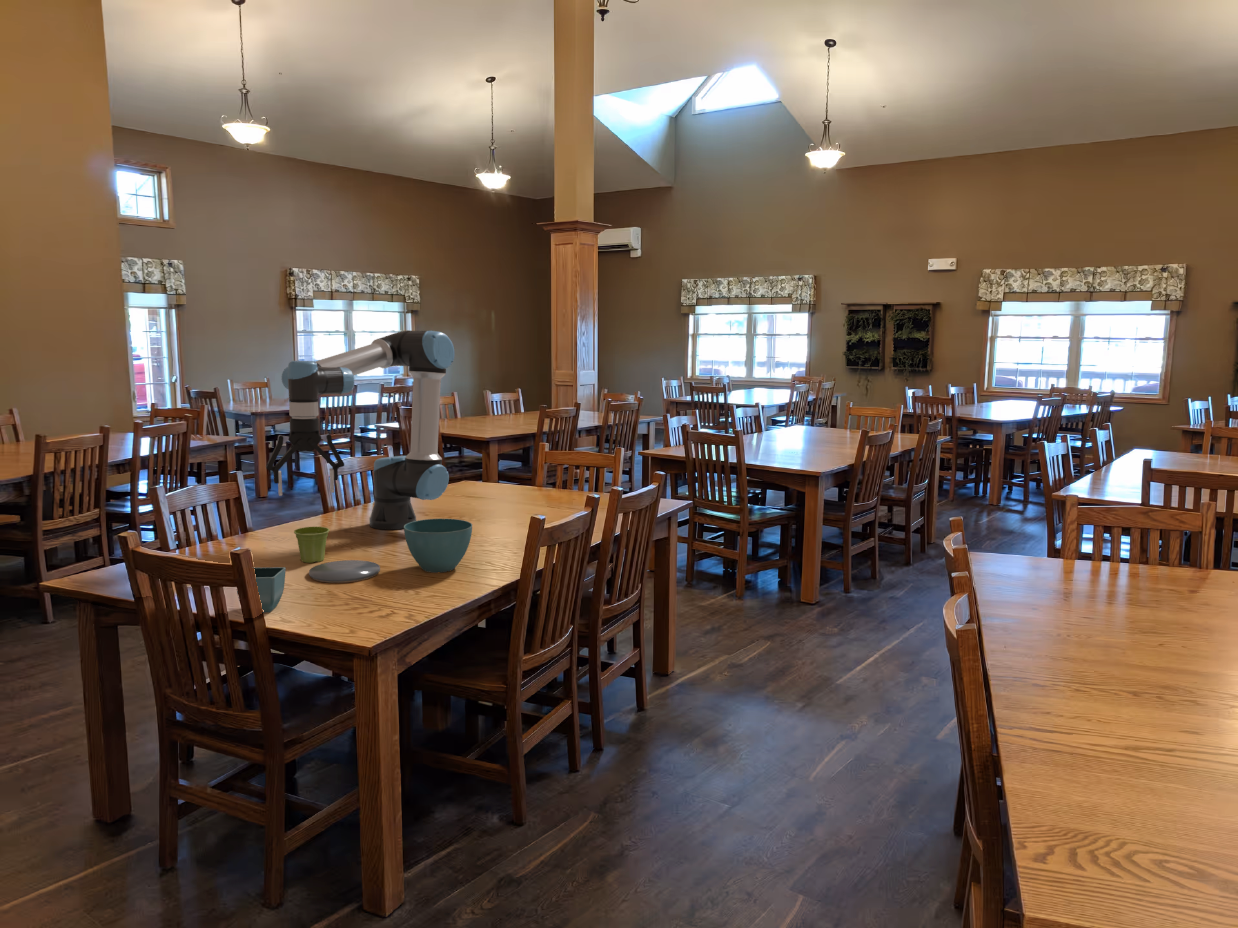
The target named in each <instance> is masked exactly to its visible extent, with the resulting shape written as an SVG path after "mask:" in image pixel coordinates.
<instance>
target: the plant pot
mask: <svg viewBox="0 0 1238 928" xmlns="http://www.w3.org/2000/svg"><path fill="white" fill-rule="evenodd" d="M329 532H330V528H328V527H324V526H305V527H299V528H296V529H295V530H293V533H294V534H295V538H296V540H297V546H298V550H299V551H298V552H299V556H300V561H301V562H303V563H308V564H313V563H314V562H319V563H320V562H323V561H324V560H325V554H326V547H327V546H326V545H327V538H328V536H329Z"/></svg>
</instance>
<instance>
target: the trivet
mask: <svg viewBox="0 0 1238 928" xmlns="http://www.w3.org/2000/svg"><path fill="white" fill-rule="evenodd" d="M380 571H381V565H379V564H378V563H376V562H374V561H373V562H372V561H370V560H369V561H368V560H360V559H357V560H355V559H354V560H353V559H349V560H348V559H347V560H335V561H329V562H324V563H321V564H317V565H315V566H313V567H311V568H310V569H309V571H308V575H309V577H310V578H311V579H312V580H313V581H317V582H322V583H328V584H329V583H330V584H331V583H332V584H343V583H346V584H347V583H354V582H360V581H366V580H369V579H371V578H373V577H375V576H377V575H378V574H379V572H380Z"/></svg>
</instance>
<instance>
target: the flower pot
mask: <svg viewBox="0 0 1238 928" xmlns="http://www.w3.org/2000/svg"><path fill="white" fill-rule="evenodd" d="M253 568H254V569H255V574H256V582H257V586H258V592H259V595H260V600H261V603H262V609H263V610H264V612H263V613H271V612H272V611H274V610H275V608H276V607H277V606H278V605H279V603H280V602H281V599H282V596H283V594H284V590H285V580H286V579H285V578H286V569H287V568H286V567H284V566H283V567H277V566H276V567H272V566H271V567H253ZM236 592H237V593H236V594H237V595H238V591H237V590H236ZM237 598H238V601H239V602H240V600H239V597H238V596H237Z"/></svg>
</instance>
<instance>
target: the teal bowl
mask: <svg viewBox="0 0 1238 928" xmlns="http://www.w3.org/2000/svg"><path fill="white" fill-rule="evenodd" d="M403 532H404V538H405V542H406V545H407V547H408V550H409V552H410V554H411V556H412V558H413V559H414V560H415V562H416V563H417V564H418V565H419V567H420V568H421V569H422V570H423V571H425V572H428V573H435V574H437V573H438V572H440V573H447V571H448V572H451V571H453V570H455V568H456V567H457V566H459V563H460V562H461V561H462V559H463V558H464V556H465V555H466V553H467V551H468V548H469V546H470V542H471V537H472V533H473V524H472V522H470V521H467V520H463V519H457V518H456V519H455V518H428V519H427V518H425V519H419V520H416V521H414V522H410V523H408V524H406V525H404V528H403ZM450 570H451V571H450Z"/></svg>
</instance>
